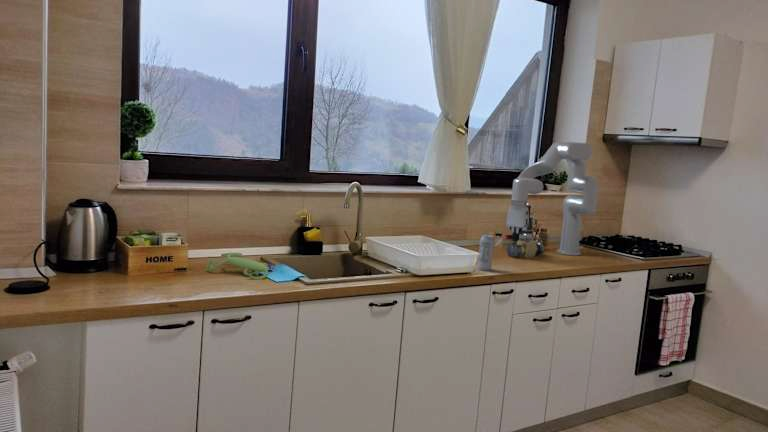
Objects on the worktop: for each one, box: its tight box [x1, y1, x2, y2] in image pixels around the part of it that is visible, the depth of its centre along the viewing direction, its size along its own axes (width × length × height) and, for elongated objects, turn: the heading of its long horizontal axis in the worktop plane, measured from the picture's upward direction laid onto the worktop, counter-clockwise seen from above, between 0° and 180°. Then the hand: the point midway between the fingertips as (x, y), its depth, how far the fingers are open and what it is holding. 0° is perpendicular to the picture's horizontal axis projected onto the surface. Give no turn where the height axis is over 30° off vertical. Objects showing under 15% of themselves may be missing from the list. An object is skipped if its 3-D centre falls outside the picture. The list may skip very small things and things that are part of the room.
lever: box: [501, 233, 533, 241], centre depth 298 cm, size 4×18×2 cm, turn 119°
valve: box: [506, 239, 545, 259], centre depth 302 cm, size 20×7×9 cm, turn 125°
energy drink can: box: [477, 234, 495, 272], centre depth 262 cm, size 6×6×15 cm
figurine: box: [204, 252, 275, 281], centre depth 227 cm, size 18×27×6 cm
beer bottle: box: [515, 204, 534, 244], centre depth 321 cm, size 8×8×24 cm
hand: (515, 240), depth 293 cm, fingers closed
